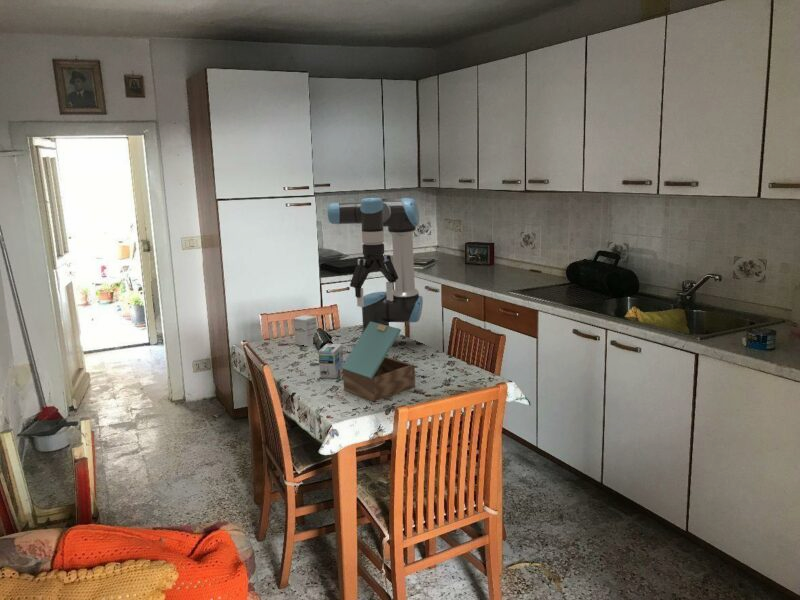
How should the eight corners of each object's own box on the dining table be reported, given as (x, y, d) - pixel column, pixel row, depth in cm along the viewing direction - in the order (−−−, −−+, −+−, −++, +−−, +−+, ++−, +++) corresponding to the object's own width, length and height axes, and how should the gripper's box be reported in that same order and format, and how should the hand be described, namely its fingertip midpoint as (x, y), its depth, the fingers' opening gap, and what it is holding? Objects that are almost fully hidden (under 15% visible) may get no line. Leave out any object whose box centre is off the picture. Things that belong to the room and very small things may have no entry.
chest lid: (371, 322, 236) (369, 320, 235) (401, 330, 225) (398, 327, 224) (342, 368, 230) (340, 366, 229) (371, 378, 218) (369, 376, 217)
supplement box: (294, 345, 291) (292, 317, 289) (306, 341, 297) (304, 314, 295) (306, 347, 287) (305, 319, 285) (318, 343, 293) (316, 316, 290)
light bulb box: (336, 378, 244) (334, 351, 242) (319, 378, 246) (317, 351, 243) (344, 369, 254) (342, 343, 252) (328, 369, 256) (326, 343, 254)
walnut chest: (386, 376, 245) (385, 356, 243) (415, 386, 233) (414, 365, 231) (344, 390, 232) (342, 368, 230) (372, 401, 220) (371, 378, 218)
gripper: (392, 238, 234) (394, 296, 239) (337, 246, 218) (341, 307, 222) (406, 240, 229) (408, 298, 233) (351, 248, 212) (354, 310, 217)
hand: (375, 303), depth 228 cm, fingers open, 13 cm apart
